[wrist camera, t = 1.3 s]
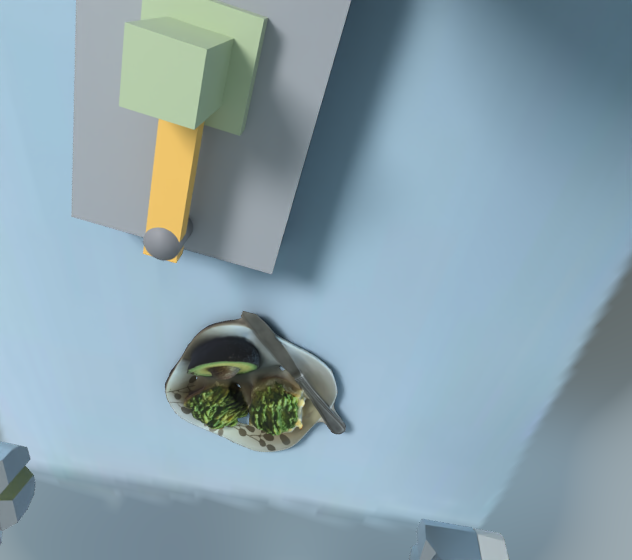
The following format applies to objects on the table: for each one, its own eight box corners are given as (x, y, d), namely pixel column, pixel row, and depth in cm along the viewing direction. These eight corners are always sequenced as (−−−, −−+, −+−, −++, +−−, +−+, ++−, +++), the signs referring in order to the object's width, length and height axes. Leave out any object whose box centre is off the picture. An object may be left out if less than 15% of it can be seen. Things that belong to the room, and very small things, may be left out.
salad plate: (388, 376, 50) (391, 409, 46) (298, 463, 59) (294, 497, 55) (226, 285, 46) (214, 313, 42) (154, 394, 54) (138, 425, 50)
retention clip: (176, 90, 31) (159, 100, 28) (215, 103, 31) (201, 113, 29) (157, 234, 37) (141, 254, 34) (190, 244, 37) (177, 264, 34)
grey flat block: (121, -168, 29) (80, -195, 24) (373, -76, 30) (376, -87, 26) (100, 192, 41) (71, 216, 37) (280, 245, 43) (271, 274, 38)
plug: (171, -21, 31) (94, -24, 22) (275, 15, 32) (243, 26, 22) (159, 89, 35) (88, 125, 25) (252, 119, 35) (217, 164, 26)
